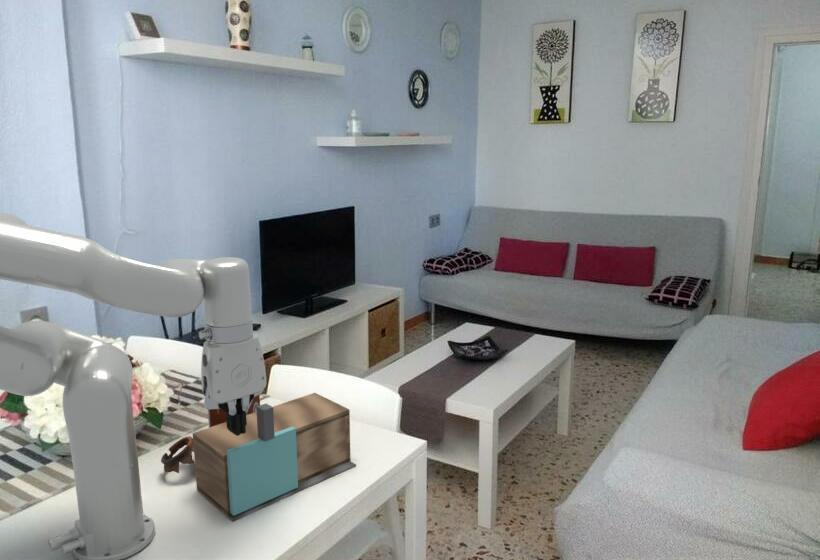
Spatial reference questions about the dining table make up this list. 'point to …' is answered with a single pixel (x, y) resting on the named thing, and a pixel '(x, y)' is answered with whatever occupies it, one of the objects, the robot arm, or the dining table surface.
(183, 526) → the dining table surface
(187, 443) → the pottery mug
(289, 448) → the door
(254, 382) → the robot arm
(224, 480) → the cabinet
